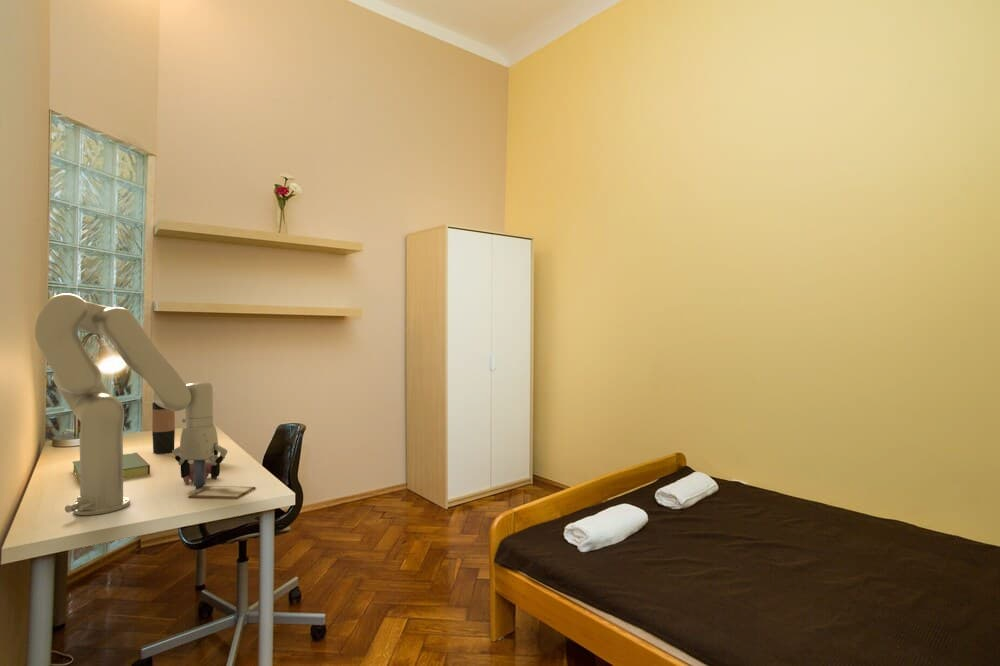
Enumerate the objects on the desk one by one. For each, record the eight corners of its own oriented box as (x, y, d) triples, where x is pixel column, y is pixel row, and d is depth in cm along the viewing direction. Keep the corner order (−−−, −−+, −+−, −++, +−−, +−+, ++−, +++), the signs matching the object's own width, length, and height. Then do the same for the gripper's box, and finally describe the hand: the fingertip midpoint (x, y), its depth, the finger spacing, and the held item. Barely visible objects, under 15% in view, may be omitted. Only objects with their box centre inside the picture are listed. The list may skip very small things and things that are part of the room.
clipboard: (237, 499, 153) (237, 494, 153) (188, 497, 154) (188, 493, 154) (255, 488, 163) (255, 484, 163) (209, 487, 164) (209, 483, 164)
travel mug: (167, 453, 207) (166, 403, 207) (147, 453, 207) (147, 403, 207) (179, 449, 215) (178, 400, 215) (160, 449, 215) (160, 400, 215)
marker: (201, 490, 161) (201, 454, 161) (190, 489, 162) (190, 454, 161) (208, 486, 165) (208, 451, 165) (197, 486, 165) (197, 451, 165)
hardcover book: (149, 476, 178) (149, 465, 178) (79, 487, 166) (79, 475, 166) (136, 462, 197) (136, 452, 197) (72, 471, 184) (72, 461, 184)
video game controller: (215, 481, 176) (212, 461, 178) (219, 477, 173) (215, 457, 175) (181, 487, 169) (179, 466, 171) (185, 483, 166) (182, 462, 168)
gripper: (164, 424, 160) (165, 480, 160) (218, 424, 159) (219, 480, 159) (181, 419, 167) (182, 473, 168) (233, 420, 166) (233, 473, 166)
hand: (200, 476), depth 163 cm, fingers open, 9 cm apart
